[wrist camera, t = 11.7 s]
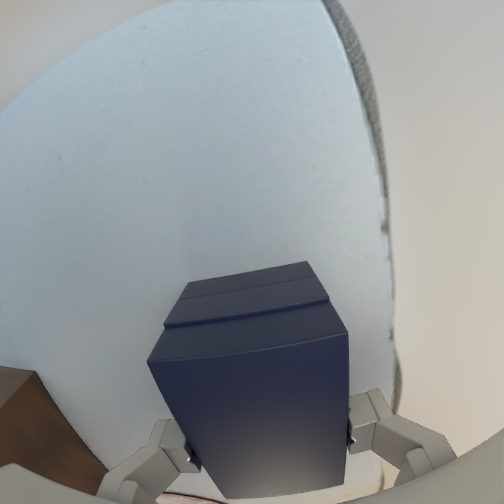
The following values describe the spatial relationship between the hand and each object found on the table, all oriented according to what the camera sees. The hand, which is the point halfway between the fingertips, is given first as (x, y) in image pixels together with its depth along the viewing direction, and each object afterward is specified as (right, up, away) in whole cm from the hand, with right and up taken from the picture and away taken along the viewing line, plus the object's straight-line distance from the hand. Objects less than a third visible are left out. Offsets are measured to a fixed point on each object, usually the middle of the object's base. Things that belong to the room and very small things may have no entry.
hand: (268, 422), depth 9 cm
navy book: (0, 0, +1) cm, 1 cm away
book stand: (-21, -10, +8) cm, 25 cm away
